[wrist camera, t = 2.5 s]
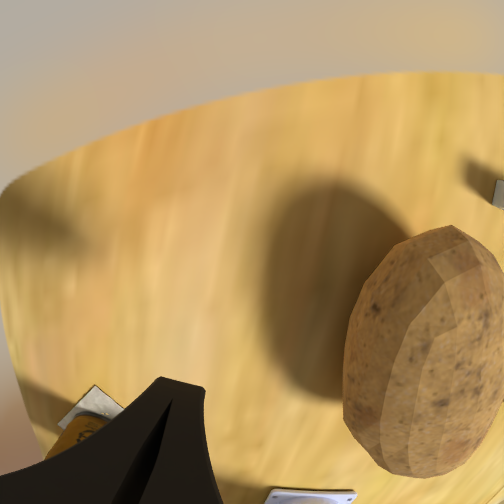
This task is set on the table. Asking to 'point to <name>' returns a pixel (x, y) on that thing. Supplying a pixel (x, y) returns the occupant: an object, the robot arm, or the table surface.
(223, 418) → the table surface
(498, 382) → the potato
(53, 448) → the condiment
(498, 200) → the corner walls
